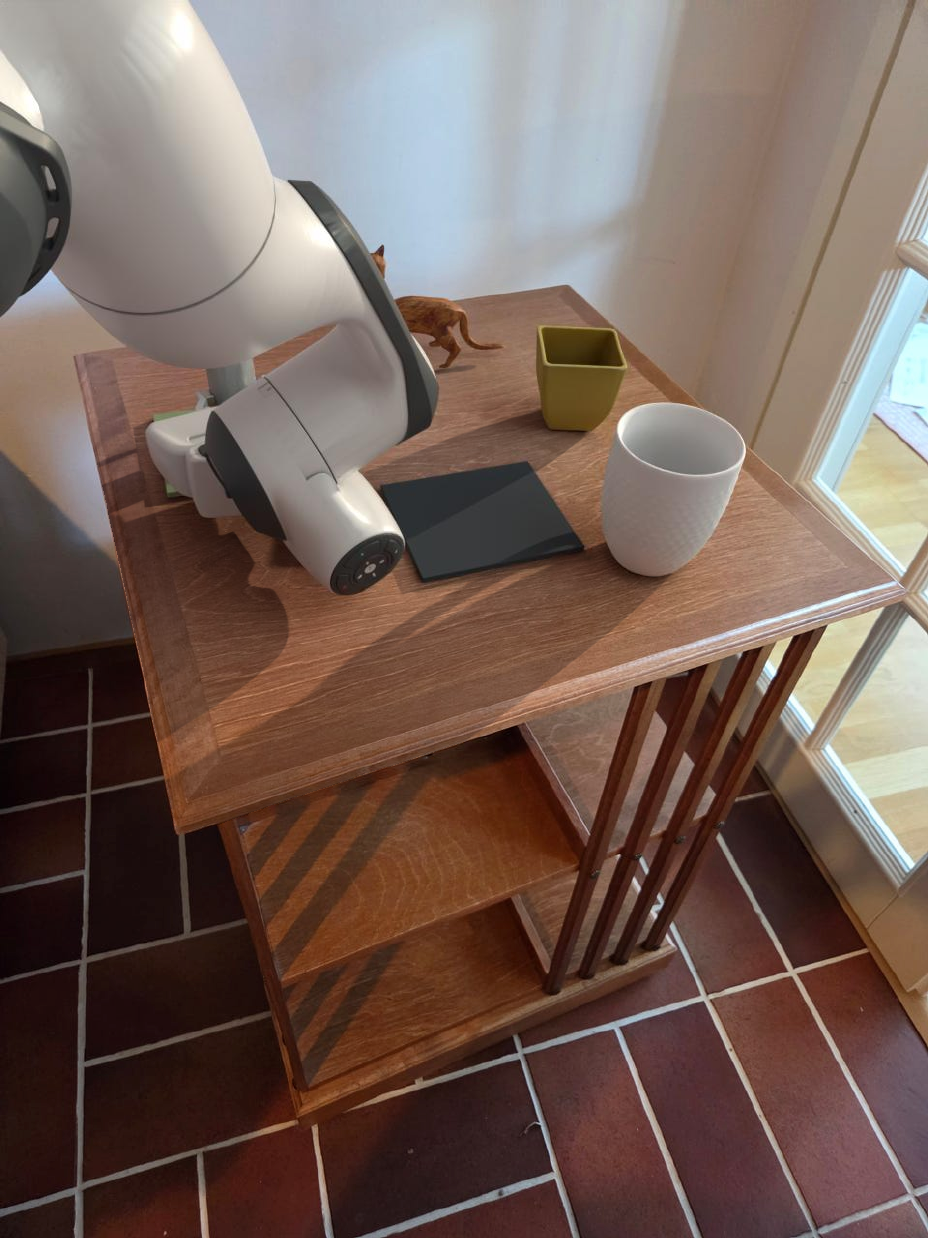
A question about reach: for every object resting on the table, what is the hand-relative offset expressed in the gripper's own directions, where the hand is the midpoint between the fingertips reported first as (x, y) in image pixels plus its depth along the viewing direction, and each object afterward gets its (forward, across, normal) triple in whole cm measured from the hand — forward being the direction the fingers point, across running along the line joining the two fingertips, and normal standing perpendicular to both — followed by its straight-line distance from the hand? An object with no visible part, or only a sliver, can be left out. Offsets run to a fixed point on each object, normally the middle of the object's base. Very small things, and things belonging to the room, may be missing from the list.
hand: (230, 389), depth 83 cm
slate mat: (-23, -16, +6) cm, 28 cm away
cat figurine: (+6, -27, +6) cm, 28 cm away
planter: (-1, 0, +6) cm, 6 cm away
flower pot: (-13, -34, +6) cm, 37 cm away
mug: (-34, -27, +6) cm, 44 cm away
